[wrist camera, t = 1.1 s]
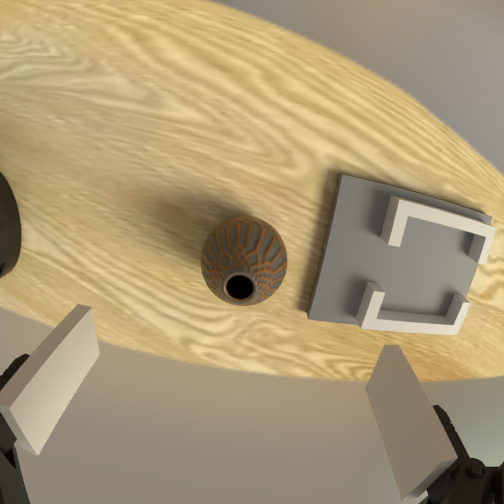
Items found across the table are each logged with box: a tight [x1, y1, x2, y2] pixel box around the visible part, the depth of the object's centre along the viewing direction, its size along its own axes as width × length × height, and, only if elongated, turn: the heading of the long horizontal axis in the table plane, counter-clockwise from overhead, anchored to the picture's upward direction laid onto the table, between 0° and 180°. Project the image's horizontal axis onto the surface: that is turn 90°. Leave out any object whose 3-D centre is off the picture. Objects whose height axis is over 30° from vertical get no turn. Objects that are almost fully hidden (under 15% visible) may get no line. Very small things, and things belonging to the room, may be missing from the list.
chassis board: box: [307, 173, 496, 335], centre depth 27 cm, size 18×14×3 cm
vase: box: [201, 216, 287, 306], centre depth 24 cm, size 7×7×9 cm
